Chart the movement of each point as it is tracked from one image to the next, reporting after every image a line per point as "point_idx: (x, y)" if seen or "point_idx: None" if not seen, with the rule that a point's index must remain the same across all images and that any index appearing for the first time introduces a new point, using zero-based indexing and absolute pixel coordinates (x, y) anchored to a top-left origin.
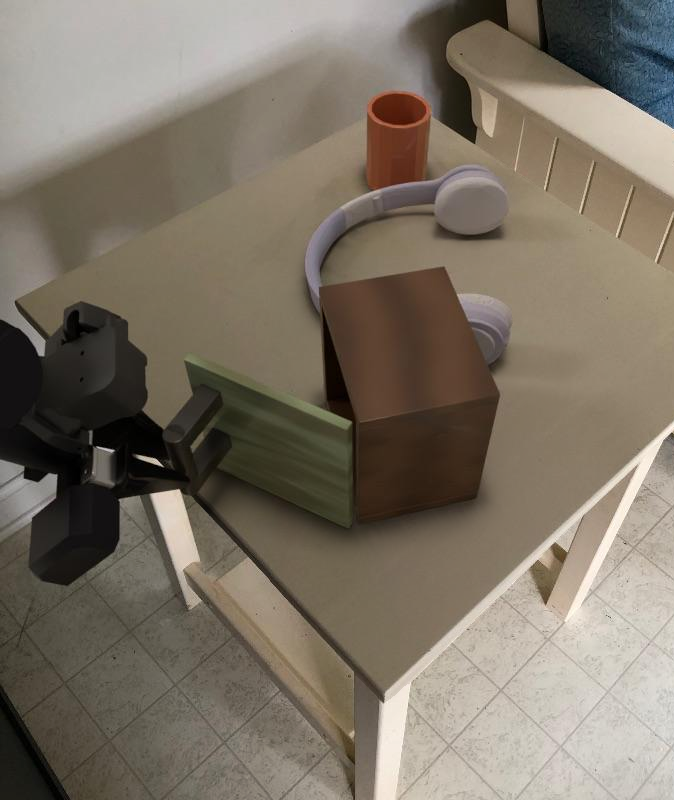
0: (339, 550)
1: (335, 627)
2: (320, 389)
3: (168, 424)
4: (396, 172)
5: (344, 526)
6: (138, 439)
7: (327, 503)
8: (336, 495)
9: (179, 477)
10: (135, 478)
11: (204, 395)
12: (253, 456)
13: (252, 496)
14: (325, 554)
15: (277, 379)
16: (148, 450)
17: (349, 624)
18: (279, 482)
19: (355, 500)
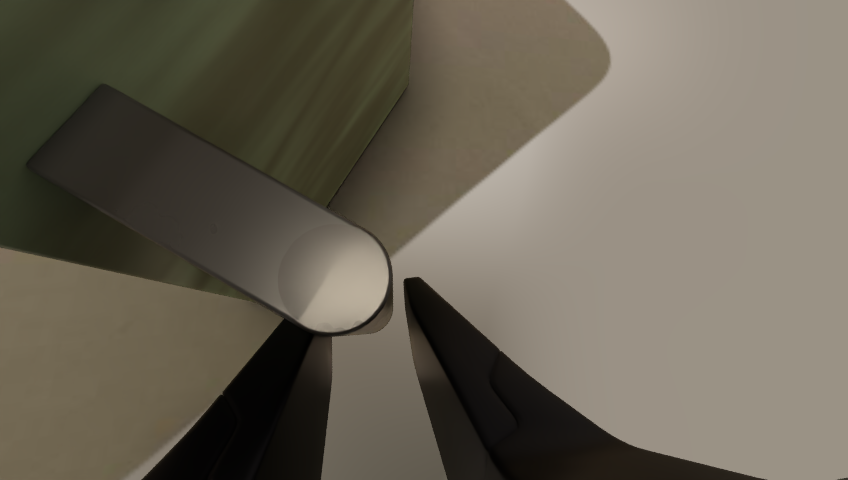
0: (441, 100)
1: (557, 111)
2: None
3: (275, 308)
4: None
5: (405, 87)
6: (297, 465)
7: (390, 76)
8: (401, 30)
9: (429, 296)
10: (610, 436)
11: (110, 147)
12: (295, 174)
13: None
14: (447, 119)
15: None
16: (317, 417)
17: (552, 94)
18: (338, 154)
19: None
